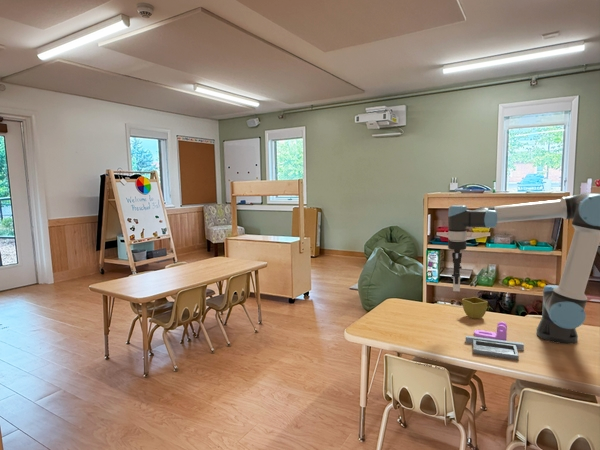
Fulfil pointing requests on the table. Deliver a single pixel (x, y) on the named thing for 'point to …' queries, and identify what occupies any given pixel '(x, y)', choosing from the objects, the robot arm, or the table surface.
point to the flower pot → (474, 307)
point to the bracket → (499, 335)
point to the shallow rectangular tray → (495, 350)
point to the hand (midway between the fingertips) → (456, 286)
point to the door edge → (518, 345)
